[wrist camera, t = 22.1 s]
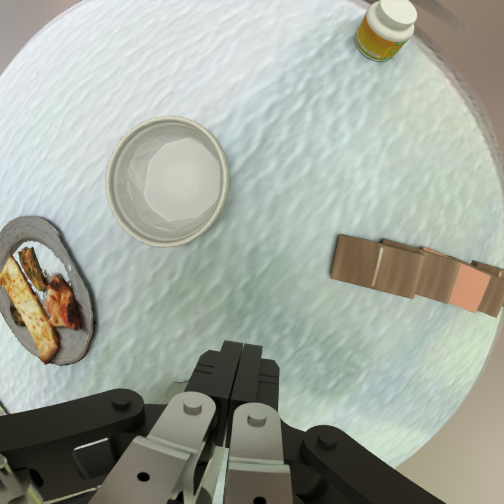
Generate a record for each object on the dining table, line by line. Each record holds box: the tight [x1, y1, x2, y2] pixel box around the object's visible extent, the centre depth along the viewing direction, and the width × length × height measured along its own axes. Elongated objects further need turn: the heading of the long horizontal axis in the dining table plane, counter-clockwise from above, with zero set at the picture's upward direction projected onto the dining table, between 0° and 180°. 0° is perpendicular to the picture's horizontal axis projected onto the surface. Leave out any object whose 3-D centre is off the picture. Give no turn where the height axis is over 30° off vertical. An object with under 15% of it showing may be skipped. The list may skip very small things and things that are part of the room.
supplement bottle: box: [355, 0, 417, 61], centre depth 25 cm, size 5×5×10 cm
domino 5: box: [471, 260, 504, 306], centre depth 33 cm, size 2×5×10 cm
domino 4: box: [450, 256, 504, 318], centre depth 32 cm, size 2×5×10 cm
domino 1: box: [330, 234, 425, 299], centre depth 33 cm, size 2×5×10 cm
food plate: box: [0, 217, 96, 366], centre depth 40 cm, size 25×23×4 cm
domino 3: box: [422, 246, 491, 313], centre depth 32 cm, size 2×5×10 cm
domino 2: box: [382, 239, 461, 304], centre depth 33 cm, size 2×5×10 cm
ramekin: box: [106, 116, 230, 247], centre depth 32 cm, size 13×13×7 cm
